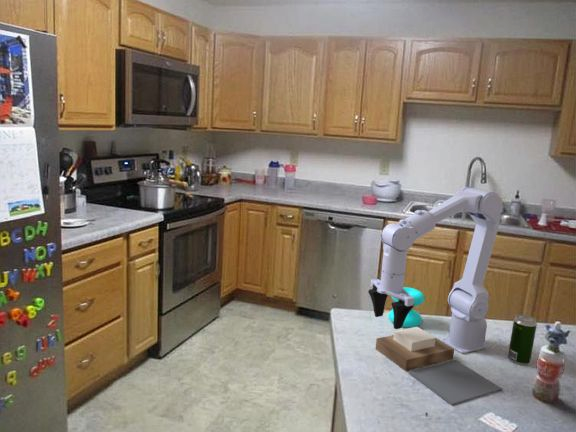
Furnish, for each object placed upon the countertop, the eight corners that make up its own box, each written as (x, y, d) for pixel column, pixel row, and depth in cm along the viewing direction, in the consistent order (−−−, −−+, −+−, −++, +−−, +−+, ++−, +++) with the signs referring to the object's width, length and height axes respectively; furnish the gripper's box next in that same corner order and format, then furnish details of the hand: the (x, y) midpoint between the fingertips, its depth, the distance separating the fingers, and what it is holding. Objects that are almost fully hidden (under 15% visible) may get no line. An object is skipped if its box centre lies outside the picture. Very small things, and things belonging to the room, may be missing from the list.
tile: (416, 334, 126) (417, 326, 126) (434, 346, 120) (435, 337, 120) (393, 339, 123) (394, 331, 122) (411, 351, 117) (412, 342, 116)
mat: (455, 361, 119) (456, 359, 119) (501, 389, 107) (502, 388, 107) (408, 373, 112) (408, 371, 112) (451, 405, 100) (451, 403, 100)
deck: (420, 339, 130) (422, 329, 130) (452, 359, 120) (454, 348, 119) (375, 348, 123) (376, 338, 123) (405, 371, 113) (406, 359, 112)
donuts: (393, 295, 135) (389, 284, 145) (390, 327, 137) (386, 314, 147) (428, 298, 134) (421, 287, 144) (424, 330, 136) (417, 316, 146)
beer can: (522, 368, 118) (530, 324, 115) (503, 358, 122) (510, 316, 120) (534, 363, 121) (541, 320, 118) (514, 353, 125) (521, 312, 123)
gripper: (363, 264, 120) (358, 313, 122) (400, 282, 107) (394, 336, 110) (384, 262, 123) (379, 309, 126) (422, 279, 110) (416, 331, 113)
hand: (388, 321), depth 118 cm, fingers open, 7 cm apart
